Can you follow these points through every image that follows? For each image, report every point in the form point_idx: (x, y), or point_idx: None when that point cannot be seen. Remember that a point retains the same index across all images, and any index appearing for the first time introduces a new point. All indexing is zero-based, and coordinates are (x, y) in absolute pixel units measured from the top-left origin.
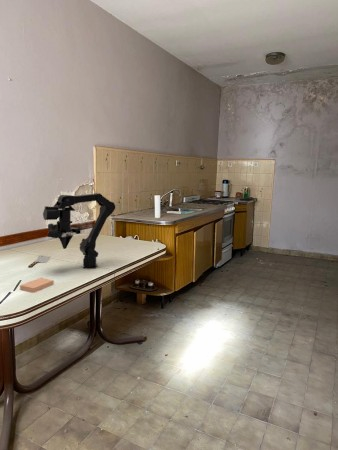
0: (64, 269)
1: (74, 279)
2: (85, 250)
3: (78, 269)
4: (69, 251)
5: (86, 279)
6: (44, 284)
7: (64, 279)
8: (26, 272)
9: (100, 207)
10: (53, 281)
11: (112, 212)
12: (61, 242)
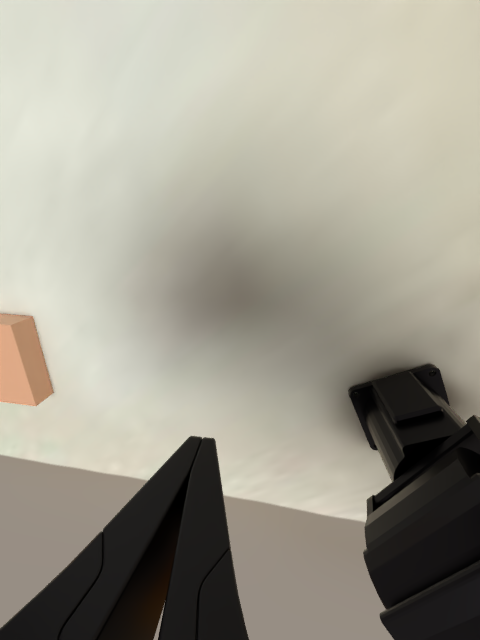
0: (274, 290)
1: (155, 435)
2: (369, 562)
3: (311, 371)
4: None
5: None
6: None
7: (128, 397)
8: (68, 58)
9: None
10: (40, 401)
11: None
12: (95, 546)
